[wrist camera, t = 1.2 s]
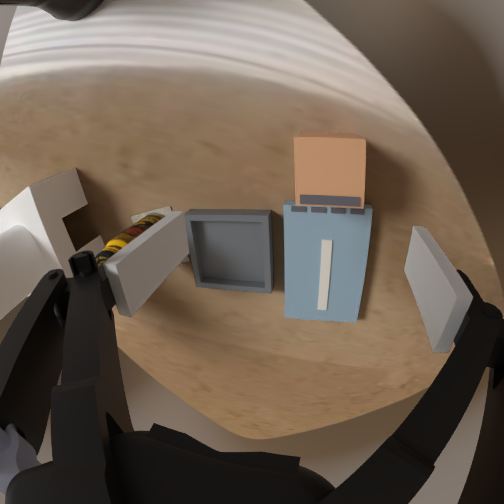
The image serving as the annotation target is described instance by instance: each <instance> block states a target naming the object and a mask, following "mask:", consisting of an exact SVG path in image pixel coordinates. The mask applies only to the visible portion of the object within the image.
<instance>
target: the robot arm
mask: <svg viewBox="0 0 504 504" xmlns="http://www.w3.org/2000/svg"><path fill="white" fill-rule="evenodd" d="M102 2H103V0H0V5H17V6H34V7H38V8H40V9H42V10H44V11H46V12H48V13H50V14H51V15H52V16H53V17H55V18H57V19H60V20H67V21H74V20H78V19H80V18H82V17H84V16H86V15H87V14H89V13H90V12H92V11H93V10H94V9H95V8H96V7H97V6H99V5H100V4H101V3H102ZM188 254H189V246H188V239H187V232H186V224H185V217H184V211H172V212H171V213H170V214H168V215H167V216H165V217H164V218H162V219H161V220H160V221H158V222H157V223H156V224H154V225H153V226H151V227H150V228H149V229H147V230H146V231H145V232H143V233H142V234H140V235H139V236H138V237H136V238H135V239H134V240H132V241H131V242H130V243H128V244H127V245H126V246H125V247H123V248H121V249H120V250H119V251H118V252H116V253H115V254H114V255H112V256H111V257H110V258H109V259H107V260H106V261H105V262H104V263H102V264H101V265H100V266H99V267H97V263H96V260H95V256H94V253H93V251H89V250H86V251H81V252H78V253H76V254H74V255H72V256H71V257H70V258H69V260H68V261H69V265H70V268H71V271H72V273H73V277H71V278H66V276H65V274H64V271H63V270H62V269H55V270H54V269H53V270H50V271H48V273H46V274H45V275H44V276H43V277H42V278H41V280H40V281H39V283H38V284H37V286H36V287H35V288H34V290H33V291H32V293H31V294H30V296H29V297H28V299H27V301H26V302H25V304H24V305H23V307H22V308H21V310H20V312H19V313H18V315H17V316H16V318H15V320H14V321H13V323H12V325H11V327H10V328H9V330H8V332H7V334H6V336H5V337H4V339H3V341H2V343H1V345H0V491H1V492H2V493H3V494H4V495H5V496H6V498H5V504H408V503H409V502H410V501H411V500H412V498H413V497H414V496H415V495H416V494H417V492H418V491H419V490H420V489H421V487H422V486H423V485H424V483H425V482H426V481H427V479H428V478H429V477H430V475H431V474H432V472H433V470H434V468H435V466H434V463H435V461H436V460H437V458H438V456H439V455H440V453H441V452H442V450H443V449H444V448H445V446H446V444H447V443H448V441H449V440H450V438H451V436H452V435H453V433H454V431H455V430H456V428H457V426H458V424H459V422H460V421H461V419H462V417H463V415H464V413H465V411H466V409H467V407H468V405H469V404H470V402H471V399H472V397H473V395H474V393H475V391H476V389H477V387H478V384H479V382H480V380H481V378H482V375H483V373H484V371H485V368H486V367H490V372H489V381H488V390H487V397H486V403H485V410H484V416H483V421H482V426H481V430H480V435H479V439H478V443H477V447H476V451H475V454H474V458H473V461H472V465H471V468H470V471H469V474H468V477H467V480H466V483H465V486H464V489H463V491H462V494H461V496H460V499H459V501H458V504H504V319H503V316H502V313H501V311H500V310H499V309H498V308H497V307H496V306H494V305H493V304H490V303H487V302H484V301H483V300H482V298H481V297H480V295H479V293H478V292H477V290H476V289H475V287H474V286H473V284H472V283H471V281H470V280H469V278H468V277H467V275H465V274H464V273H463V272H462V271H460V270H456V269H455V268H454V266H453V265H452V263H451V262H450V260H449V259H448V257H447V256H446V254H445V253H444V252H443V250H442V249H441V247H440V246H439V245H438V243H437V242H436V241H435V239H434V238H433V237H432V235H431V234H430V233H429V231H428V230H427V229H426V227H419V226H413V229H412V235H411V240H410V245H409V250H408V255H407V259H406V264H405V268H404V271H405V274H406V276H407V279H408V281H409V284H410V286H411V289H412V292H413V294H414V297H415V300H416V302H417V305H418V308H419V311H420V313H421V316H422V319H423V322H424V325H425V328H426V331H427V335H428V338H429V341H430V344H431V348H432V351H433V353H442V352H449V350H450V348H451V346H452V344H453V342H454V343H455V348H454V350H453V351H452V353H451V355H450V356H449V358H448V360H447V361H446V363H445V364H444V366H443V368H442V369H441V371H440V372H439V374H438V375H437V377H436V378H435V380H434V381H433V383H432V384H431V386H430V387H429V389H428V390H427V391H426V393H425V394H424V396H423V397H422V398H421V400H420V401H419V403H418V404H417V405H416V406H415V408H414V409H413V410H412V412H411V413H410V414H409V415H408V417H407V418H406V419H405V420H404V422H403V423H402V424H401V425H400V426H399V428H398V429H397V430H396V431H395V432H394V433H393V434H392V436H390V437H389V438H388V439H387V440H386V441H385V442H384V443H383V444H382V445H381V446H380V447H379V448H378V449H377V450H376V452H375V453H374V454H373V455H372V456H371V457H370V458H369V459H368V460H367V461H366V462H365V463H364V464H363V465H362V466H360V468H358V469H357V470H356V471H355V472H354V473H353V474H352V475H351V476H350V477H349V478H348V479H346V480H345V481H344V482H343V483H342V484H341V485H340V486H338V487H337V488H336V489H335V487H334V486H333V485H332V484H331V483H330V482H328V481H327V480H326V479H325V478H323V477H322V476H321V475H319V474H317V473H316V472H314V471H312V470H309V469H307V468H305V467H302V466H299V462H300V457H295V456H287V455H279V454H272V453H266V452H219V451H216V450H214V449H212V448H210V447H208V446H206V445H205V444H203V443H201V442H199V441H198V440H196V439H194V438H192V437H191V436H189V435H187V434H185V433H182V432H178V431H176V430H172V429H169V428H167V427H164V426H161V425H158V424H155V423H154V424H153V426H152V428H151V429H150V431H134V429H133V426H132V423H131V419H130V415H129V410H128V405H127V401H126V396H125V391H124V386H123V381H122V374H121V368H120V362H119V355H118V348H117V340H116V332H115V323H114V314H113V311H112V309H111V308H112V307H113V306H114V305H115V304H116V306H117V308H118V311H119V314H121V315H125V316H129V317H132V316H133V315H134V314H135V313H136V312H137V311H138V309H139V308H140V307H141V306H142V305H143V304H144V303H145V301H146V300H147V299H148V298H149V297H150V296H151V295H152V294H153V292H154V291H155V290H156V289H157V288H158V287H159V286H160V285H161V283H162V282H163V281H164V280H165V279H166V278H167V277H168V276H169V275H170V273H171V272H172V271H173V270H174V269H175V268H176V267H177V266H178V265H179V264H180V263H181V261H182V260H183V259H184V258H185V257H186V256H187V255H188ZM54 311H55V312H54ZM55 313H56V315H55ZM61 370H62V378H61V385H59V386H57V382H58V379H59V376H60V373H61ZM50 409H51V443H52V457H53V461H50V462H47V463H44V464H41V463H40V462H39V461H38V460H37V455H38V452H39V450H40V447H41V444H42V442H43V438H44V434H45V430H46V426H47V421H48V417H49V412H50Z"/></svg>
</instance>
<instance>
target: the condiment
mask: <svg viewBox="0 0 504 504" xmlns="http://www.w3.org/2000/svg"><path fill="white" fill-rule="evenodd" d="M171 212H172V210H171V208H170V206H168V207H164V208H160V209H156V210H152V211H148V212H145V213H141V214H138V215H134V216H131V219H132V221H133V225H132V226H130V227H129V228H127V229H126V230H125V231H123V232H122V233H120V234H119V235H117V236H116V237H114V238H113V239H112V240H110V241H109V242H108V243H107V245H106V247H105V248H104V249H103V250H102V251H101V252H100V253H98V254H97V255H96V256H95V260H96V263H97V267H99V266H100V265H101V264H102V263H104V262H105V261H106V260H107V259H109V258H110V257H111V256H112V255H114V254H115V253H116V252H118V251H119V250H120V249H121V248H123V247H125V246H126V245H127V244H128V243H130V242H131V241H132V240H134V239H135V238H136V237H138V236H139V235H140V234H142V233H143V232H145V231H146V230H147V229H149V228H150V227H151V226H153V225H154V224H156V223H157V222H158V221H160V220H161V219H162V218H164V217H165V216H167V215H168V214H170V213H171ZM182 262H190V260H189V258H188V255H187V256H186V257H185V258H184V259H183V260H182V261H181V263H182Z"/></svg>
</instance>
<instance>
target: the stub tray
mask: <svg viewBox="0 0 504 504" xmlns="http://www.w3.org/2000/svg"><path fill="white" fill-rule="evenodd" d="M184 217H185V224H186V232H187V239H188V245H189V251H190V256H191V262H192V267H193V273H194V278H195V283H196V287H204V288H214V289H224V290H235V291H246V292H257V293H269V294H271V293H272V290H273V287H274V269H273V240H272V215H271V210H238V209H190V210H189V211H188V212H186V213H185V214H184Z"/></svg>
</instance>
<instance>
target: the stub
mask: <svg viewBox="0 0 504 504" xmlns="http://www.w3.org/2000/svg"><path fill="white" fill-rule="evenodd" d="M294 158H295V200H296V205H300V206H326V207H347V208H364V192H365V169H366V139H364V138H362V137H360V136H359V135H357V134H349V133H324V132H300V133H299V134H297V135H296V136H295V137H294Z"/></svg>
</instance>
